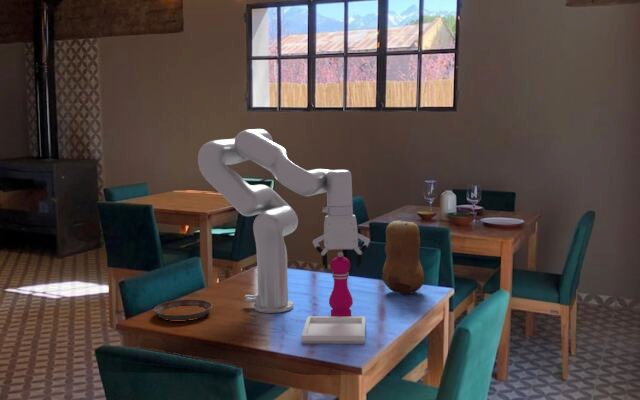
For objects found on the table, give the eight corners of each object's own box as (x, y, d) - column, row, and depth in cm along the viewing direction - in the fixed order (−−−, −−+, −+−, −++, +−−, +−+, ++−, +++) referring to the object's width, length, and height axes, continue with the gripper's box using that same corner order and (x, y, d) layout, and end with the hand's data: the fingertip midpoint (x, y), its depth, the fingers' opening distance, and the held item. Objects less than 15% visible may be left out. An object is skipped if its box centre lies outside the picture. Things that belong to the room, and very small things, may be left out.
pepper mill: (350, 320, 200) (350, 254, 197) (327, 319, 201) (326, 254, 198) (354, 312, 207) (353, 249, 204) (331, 311, 208) (330, 249, 205)
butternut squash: (420, 287, 234) (421, 217, 231) (426, 298, 221) (426, 223, 218) (381, 288, 235) (380, 217, 231) (384, 298, 221) (383, 224, 218)
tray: (301, 343, 180) (301, 335, 180) (307, 323, 197) (307, 316, 197) (364, 344, 179) (364, 336, 179) (365, 323, 196) (365, 316, 196)
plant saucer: (168, 306, 218) (167, 297, 217) (220, 308, 215) (219, 299, 214) (144, 323, 201) (144, 313, 200) (200, 326, 198) (200, 316, 197)
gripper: (310, 213, 196) (312, 270, 199) (369, 212, 195) (370, 269, 197) (312, 210, 204) (314, 265, 206) (369, 208, 202) (370, 263, 205)
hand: (342, 267), depth 202 cm, fingers open, 9 cm apart
